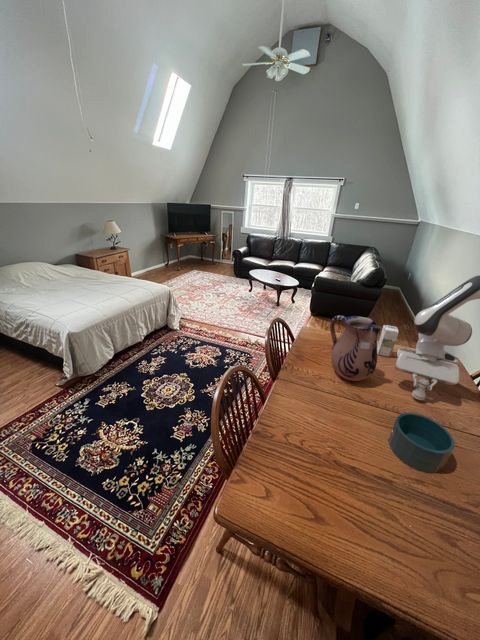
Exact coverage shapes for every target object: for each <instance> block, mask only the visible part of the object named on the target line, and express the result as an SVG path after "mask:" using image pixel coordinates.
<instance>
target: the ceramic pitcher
mask: <svg viewBox="0 0 480 640" xmlns="http://www.w3.org/2000/svg"><path fill="white" fill-rule="evenodd" d="M336 321H341V322H342V323H343V324H344V327H345V329H344V330H343V332H342V334H341V335H339V337H338V338H337V333H336V329H335V323H336ZM329 331H330V336H331V341H332V346H331V355H330V362H331V366H332V368H333V370H334V371H335V372H336V373H337V375H339V376H340V377H342V378H343V379H345V380H348V381H352V382H359V381H363V380H366V379H368V378H369V377H370V376H372V375H373V373H374V372H375V370H376V367H377V364H378V354H377V345H378V337H379V336H378V335H379V333H380V332H381V331H382V327H381V326H379V325H378V324H374V320H373V319H371V318H370V317H364V316H359V315H358V316H357V315H352V316H344V315H335V316H334V317H332V319H331V320H330V324H329Z"/></svg>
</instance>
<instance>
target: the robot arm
mask: <svg viewBox="0 0 480 640" xmlns="http://www.w3.org/2000/svg"><path fill="white" fill-rule="evenodd" d="M474 300H480V274H479V275H475V276H473V277H470V278H469V279H467V280H465V281H464V282H463V283H461V284H460V285H458V286H457V287H455V288H454V289H452V290H451V291H449V292H448V293H447V294H446V295H444V296H443V297H441V298H440V299H438V300H437V301H435V302H434V303H433V304H431V305H429V306H426V307H425V308H423V309H421V310H420V311H419V312H417V313H416V315H415V316H414V319H413V324H414V328H415V331H416V332H417V333H418V335H417V336H418V340H417V342H416V344H415V349H407V348H406V347H405V348H403V347H402V348H399V349H398V350H396V360H395V363H394V369H395V371H398V372H402V373H404V374H405V373H406V374H409V375H410V378H411V380H412V382H413V384H412V387H415V388H417V387H418V386H419V383H420V381H417V377H420V378H423V379H424V378H426V380H427V379H428V380H430V384H428V385H427V387H426V390H425V391H428V392H431V391H432V390H433V387H434V386H435V385H436V384H437V383H441V384H446V385H450V386H455V385H457V384H459V381H460V368H459V366H458V364H457V363H458V362H459V358H458V357H457V356H455V355H453V354H451V353H449V352H447V351H445V346H449V347H457V346H458V347H459V346H462V345H465V344H467V343H468V342H469V340H470V339H471V338H472V334H473V327H472V325H471V324H470V323H468V322H466V321H465V320H462V319H461V318H458V317H456V316H452V315H451V313H453V312H454V311H456V310H458V309H459V308H461V307H462V306H464V305H465V304H467V303H468V302H471V301H474Z"/></svg>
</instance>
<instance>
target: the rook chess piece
mask: <svg viewBox="0 0 480 640" xmlns="http://www.w3.org/2000/svg"><path fill="white" fill-rule="evenodd" d="M418 382H419V384H418V385H419V386H418V387H416V388H415V389H414V390H412V392H411V396H412V397H413V398H414V399H416V400H419V401H424V400H426V397H427V394H426V391H427V390H426V387H427V385H430V380H429V379H427V378H423V377H420V378H419V380H418Z"/></svg>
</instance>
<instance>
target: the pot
mask: <svg viewBox="0 0 480 640" xmlns="http://www.w3.org/2000/svg"><path fill="white" fill-rule="evenodd" d="M388 445H389V448H390V449H391V451H392V453H393V454H394V455H395V456H396V457H397V458H398V459H399V460H400V461H401V462H402V463H404V464H405V465H407V466H408V467H410V468H412V469H414V470H416V471H419V472H422V473H428V474H436V473H439V472H441V471H442V470H444V467H445V466H446V464H447V462H448V460H449V458H450V457H451V455H452V453H453V452H454V450H455V447H456V446H455V445H456V442H455V440H454V438H453V436H452V434H451V433H450V432H449V430H447V429H446V428H445V427H444V426H443V425H441V424H440V423H439V422H437V421H436V420H434V419H432V418H431V417H428V416H425V415H423V414H420V413H419V414H418V413H415V412H404V413H400V414H399V415H397V416H396V418H395V421H394V424H393V425H392V428H391V431H390V434H389V437H388Z"/></svg>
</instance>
